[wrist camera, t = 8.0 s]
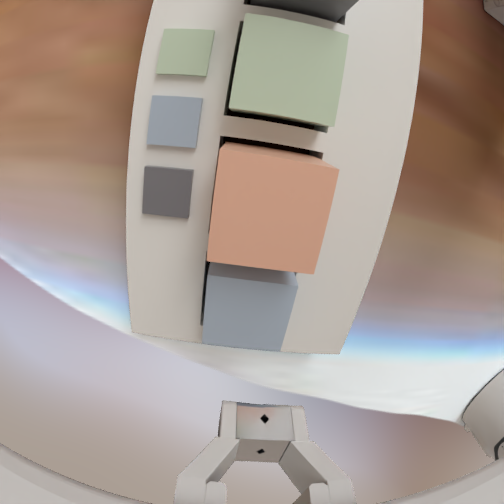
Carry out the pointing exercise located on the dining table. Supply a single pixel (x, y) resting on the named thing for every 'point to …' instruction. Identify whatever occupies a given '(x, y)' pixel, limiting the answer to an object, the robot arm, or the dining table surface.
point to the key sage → (288, 70)
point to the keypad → (219, 125)
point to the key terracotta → (270, 208)
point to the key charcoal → (310, 7)
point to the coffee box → (495, 9)
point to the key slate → (247, 306)
